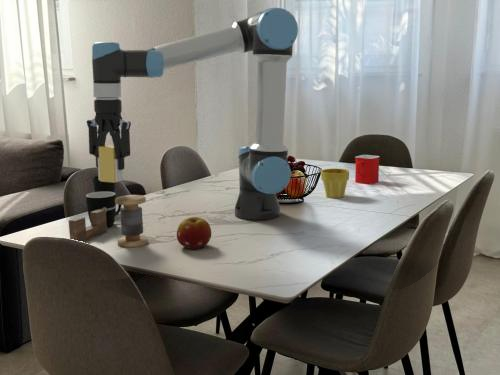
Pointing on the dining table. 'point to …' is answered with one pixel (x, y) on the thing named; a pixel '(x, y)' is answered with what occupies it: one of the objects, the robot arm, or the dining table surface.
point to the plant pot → (335, 182)
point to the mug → (103, 205)
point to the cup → (103, 185)
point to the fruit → (194, 233)
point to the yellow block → (107, 163)
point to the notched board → (86, 233)
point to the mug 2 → (367, 169)
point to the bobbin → (131, 221)
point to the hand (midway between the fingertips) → (110, 179)
